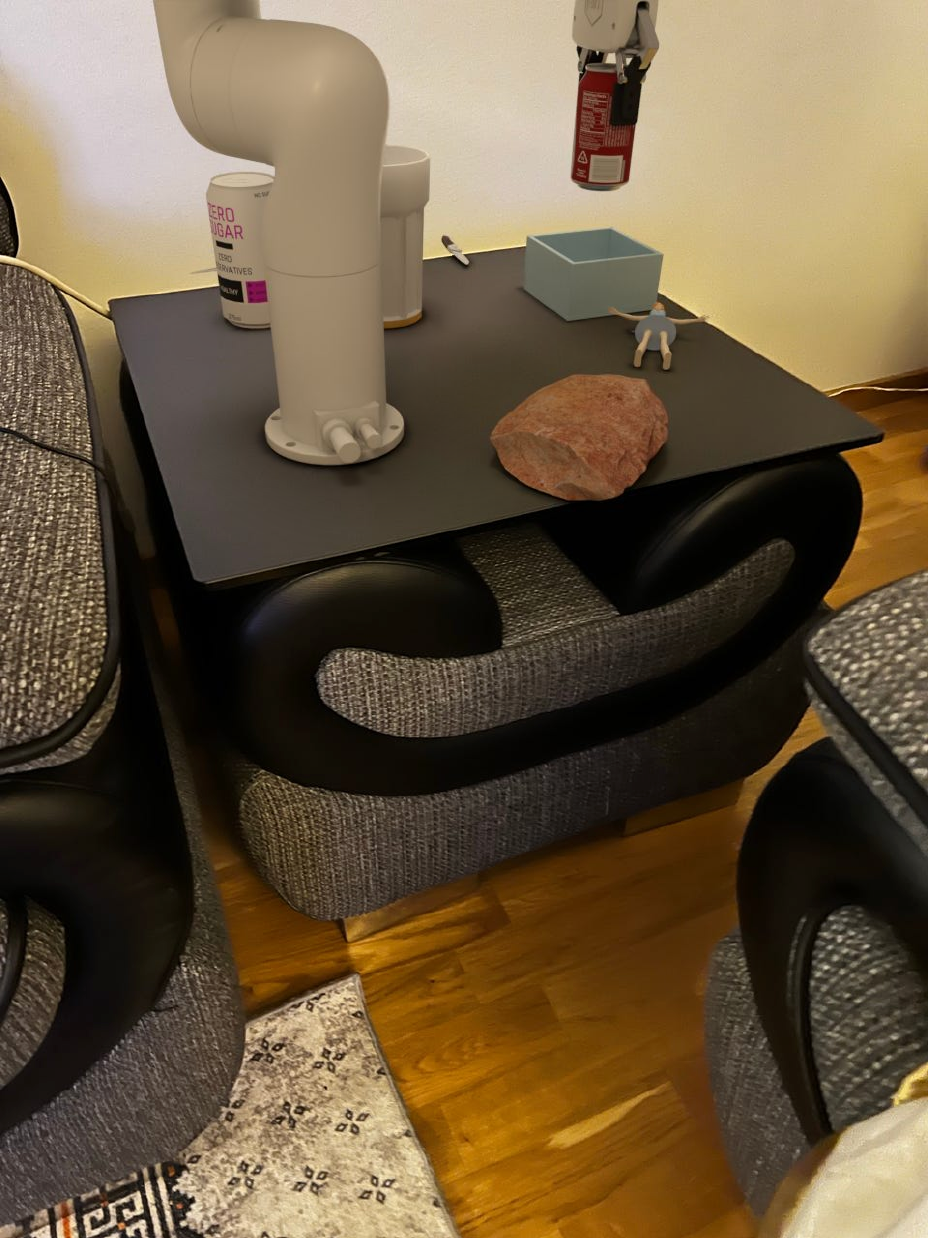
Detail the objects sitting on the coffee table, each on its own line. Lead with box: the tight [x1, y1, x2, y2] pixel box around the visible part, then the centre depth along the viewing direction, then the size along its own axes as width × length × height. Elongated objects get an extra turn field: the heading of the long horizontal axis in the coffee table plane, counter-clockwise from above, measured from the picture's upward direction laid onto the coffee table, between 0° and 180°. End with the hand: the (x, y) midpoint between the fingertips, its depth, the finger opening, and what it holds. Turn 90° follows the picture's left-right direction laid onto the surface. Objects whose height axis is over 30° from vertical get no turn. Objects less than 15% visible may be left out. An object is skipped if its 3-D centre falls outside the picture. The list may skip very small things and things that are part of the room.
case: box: [523, 226, 665, 322], centre depth 111 cm, size 12×12×7 cm
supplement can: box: [205, 171, 274, 329], centre depth 101 cm, size 8×8×15 cm
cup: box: [380, 143, 431, 330], centre depth 102 cm, size 11×11×17 cm
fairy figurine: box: [607, 301, 710, 371], centre depth 100 cm, size 12×5×12 cm
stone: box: [489, 373, 669, 502], centre depth 80 cm, size 14×6×20 cm
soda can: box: [570, 62, 637, 192], centre depth 101 cm, size 7×7×12 cm
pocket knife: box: [440, 234, 470, 266], centre depth 127 cm, size 14×1×2 cm
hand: (605, 117), depth 101 cm, fingers closed on soda can, 6 cm apart
